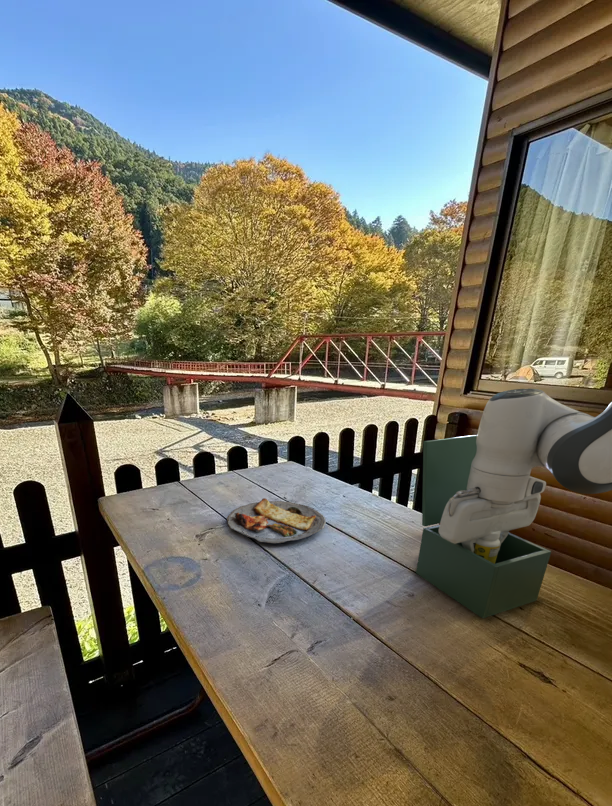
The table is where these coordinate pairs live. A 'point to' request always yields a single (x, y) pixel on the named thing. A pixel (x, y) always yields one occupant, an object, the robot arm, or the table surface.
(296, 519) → the food plate
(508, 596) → the chest
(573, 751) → the table surface
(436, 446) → the lid
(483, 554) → the supplement bottle
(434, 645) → the table surface
